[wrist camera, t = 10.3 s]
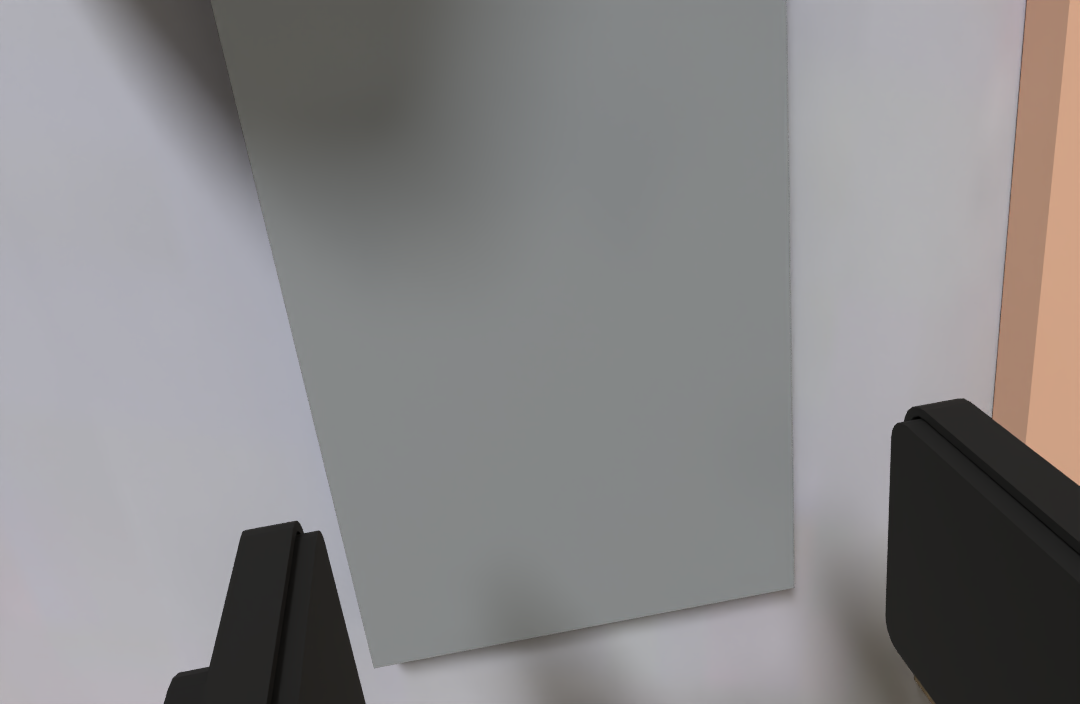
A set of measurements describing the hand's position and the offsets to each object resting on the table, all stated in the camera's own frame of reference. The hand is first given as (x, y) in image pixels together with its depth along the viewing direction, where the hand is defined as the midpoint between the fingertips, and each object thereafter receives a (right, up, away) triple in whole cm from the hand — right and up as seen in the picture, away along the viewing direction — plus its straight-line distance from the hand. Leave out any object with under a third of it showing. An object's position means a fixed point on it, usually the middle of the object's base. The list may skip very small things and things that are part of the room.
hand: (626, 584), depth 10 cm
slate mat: (-1, +4, +8) cm, 9 cm away
